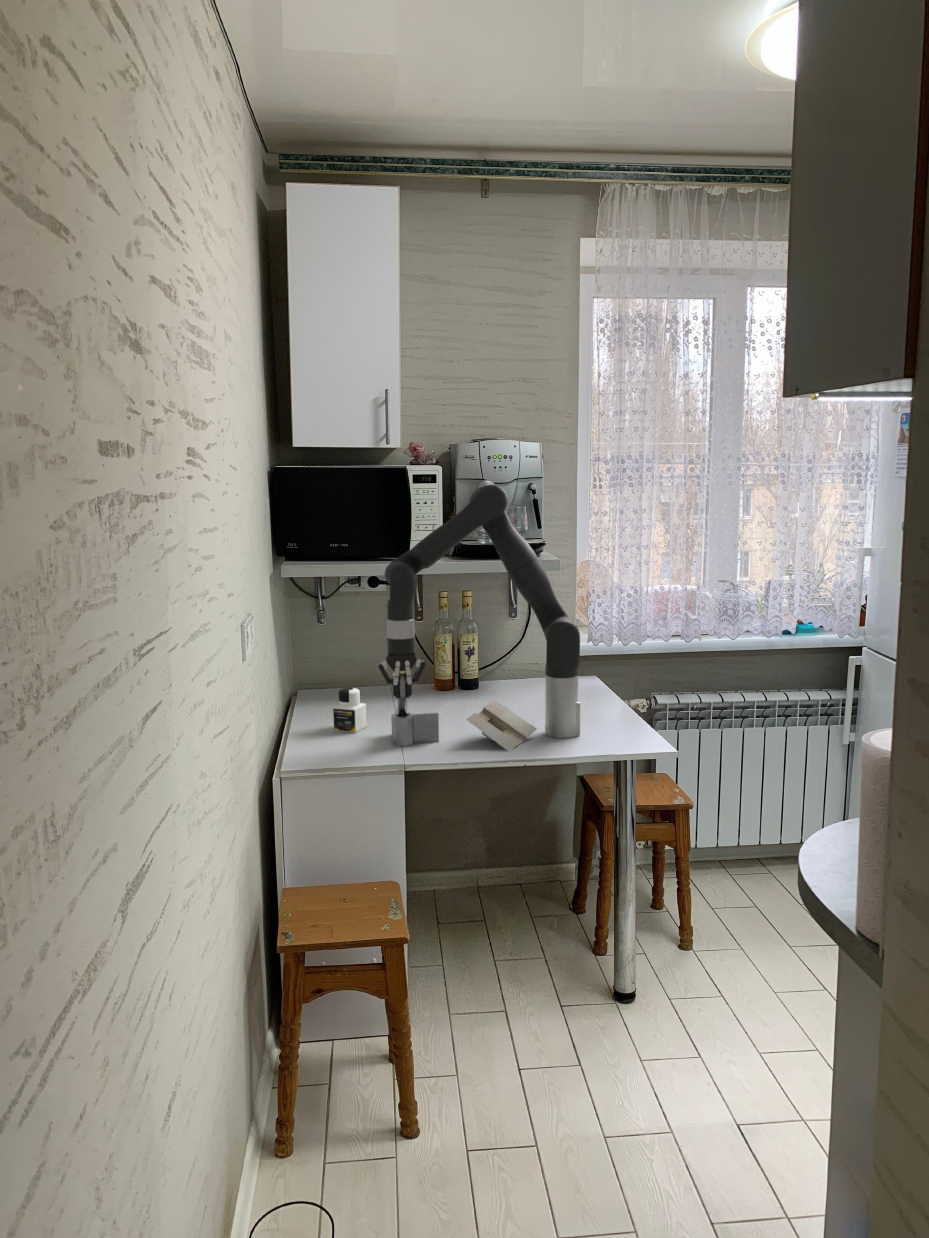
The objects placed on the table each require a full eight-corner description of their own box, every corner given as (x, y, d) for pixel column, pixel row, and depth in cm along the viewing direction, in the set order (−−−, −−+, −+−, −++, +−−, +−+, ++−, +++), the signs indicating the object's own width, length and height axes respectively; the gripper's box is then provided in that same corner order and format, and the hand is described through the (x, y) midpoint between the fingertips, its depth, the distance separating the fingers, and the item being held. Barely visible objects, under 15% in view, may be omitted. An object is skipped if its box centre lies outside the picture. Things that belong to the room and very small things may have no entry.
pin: (408, 713, 253) (407, 668, 251) (409, 716, 250) (408, 670, 248) (395, 714, 253) (394, 668, 250) (397, 717, 249) (396, 671, 247)
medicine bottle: (333, 731, 265) (332, 690, 263) (345, 724, 272) (344, 685, 270) (355, 733, 263) (354, 692, 261) (366, 726, 269) (365, 687, 267)
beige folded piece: (523, 746, 262) (486, 708, 266) (539, 728, 257) (502, 690, 261) (493, 770, 250) (455, 730, 253) (509, 752, 244) (471, 711, 248)
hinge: (432, 731, 264) (431, 704, 263) (440, 743, 252) (440, 715, 250) (387, 734, 261) (387, 706, 260) (393, 747, 249) (393, 718, 248)
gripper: (424, 631, 253) (425, 692, 255) (373, 634, 250) (375, 695, 253) (428, 636, 245) (429, 699, 248) (376, 639, 243) (378, 702, 245)
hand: (402, 697), depth 250 cm, fingers closed on pin, 2 cm apart
